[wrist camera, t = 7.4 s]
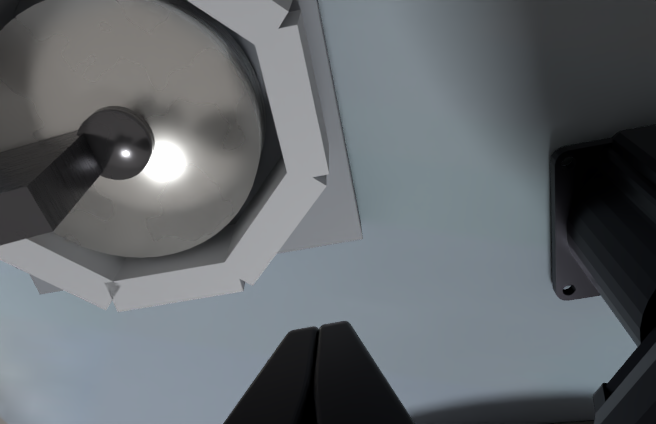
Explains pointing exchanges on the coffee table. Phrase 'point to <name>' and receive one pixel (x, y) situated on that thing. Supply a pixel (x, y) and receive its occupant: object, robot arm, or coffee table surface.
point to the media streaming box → (584, 423)
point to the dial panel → (268, 188)
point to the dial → (125, 125)
